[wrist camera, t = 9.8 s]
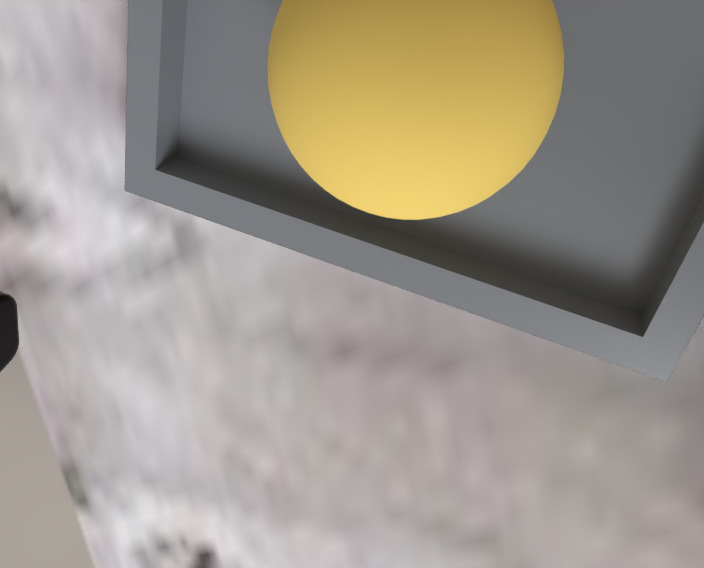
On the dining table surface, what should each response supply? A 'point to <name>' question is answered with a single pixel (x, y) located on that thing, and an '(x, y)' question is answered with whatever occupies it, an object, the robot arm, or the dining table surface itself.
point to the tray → (483, 218)
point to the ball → (414, 97)
